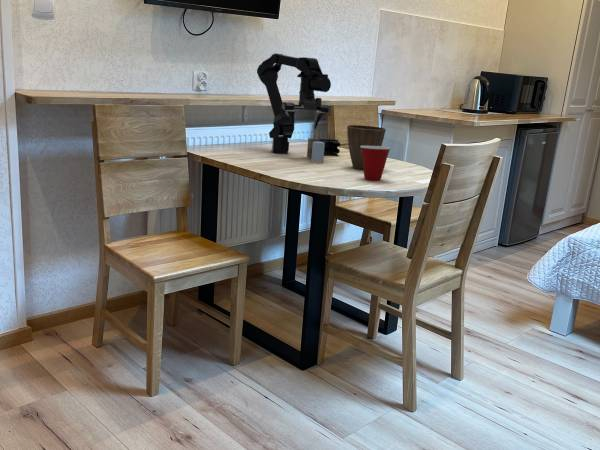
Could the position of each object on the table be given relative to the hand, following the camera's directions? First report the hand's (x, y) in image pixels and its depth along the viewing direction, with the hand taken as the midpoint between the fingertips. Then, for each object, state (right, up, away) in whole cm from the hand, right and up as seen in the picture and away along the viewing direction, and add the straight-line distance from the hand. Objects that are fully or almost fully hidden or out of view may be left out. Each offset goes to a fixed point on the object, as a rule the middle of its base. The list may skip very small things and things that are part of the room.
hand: (303, 128), depth 243 cm
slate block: (+5, -14, -5) cm, 16 cm away
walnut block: (+4, -12, +4) cm, 13 cm away
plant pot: (+23, -18, -11) cm, 31 cm away
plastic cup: (+24, -24, -32) cm, 47 cm away
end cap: (+10, -9, +17) cm, 22 cm away
